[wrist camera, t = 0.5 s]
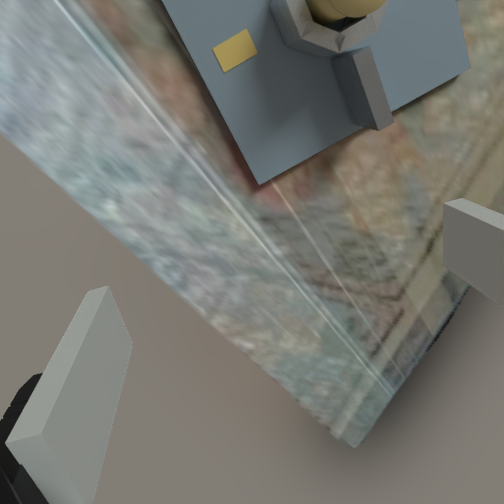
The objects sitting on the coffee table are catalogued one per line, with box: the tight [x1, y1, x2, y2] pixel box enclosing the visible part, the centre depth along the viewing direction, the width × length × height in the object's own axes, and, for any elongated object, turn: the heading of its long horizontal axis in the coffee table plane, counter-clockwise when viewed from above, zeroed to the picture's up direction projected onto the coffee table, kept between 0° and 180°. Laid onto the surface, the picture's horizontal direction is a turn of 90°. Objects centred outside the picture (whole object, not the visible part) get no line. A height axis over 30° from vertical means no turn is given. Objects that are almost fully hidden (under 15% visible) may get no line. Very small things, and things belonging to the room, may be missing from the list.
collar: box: [269, 0, 394, 131], centre depth 29 cm, size 17×7×5 cm, turn 28°
